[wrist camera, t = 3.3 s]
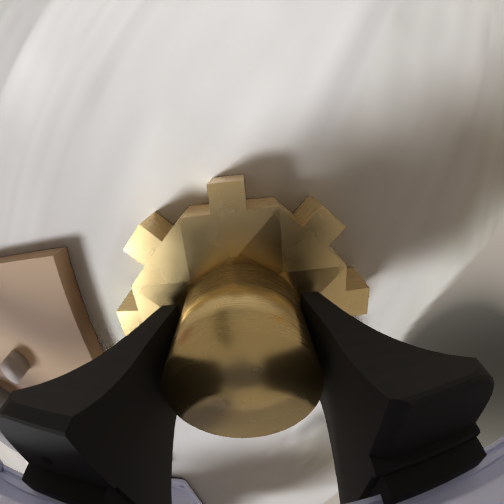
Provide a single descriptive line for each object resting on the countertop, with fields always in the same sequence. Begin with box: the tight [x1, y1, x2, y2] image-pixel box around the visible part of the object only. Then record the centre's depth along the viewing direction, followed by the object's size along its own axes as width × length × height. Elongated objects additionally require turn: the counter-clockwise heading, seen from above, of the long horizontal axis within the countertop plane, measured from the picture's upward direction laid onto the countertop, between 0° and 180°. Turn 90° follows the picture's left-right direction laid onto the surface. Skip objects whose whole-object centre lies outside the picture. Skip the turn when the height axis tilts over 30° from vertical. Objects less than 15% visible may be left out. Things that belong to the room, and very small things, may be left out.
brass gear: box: [117, 174, 369, 438], centre depth 10 cm, size 10×10×6 cm
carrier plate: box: [0, 247, 103, 452], centre depth 13 cm, size 18×18×4 cm
